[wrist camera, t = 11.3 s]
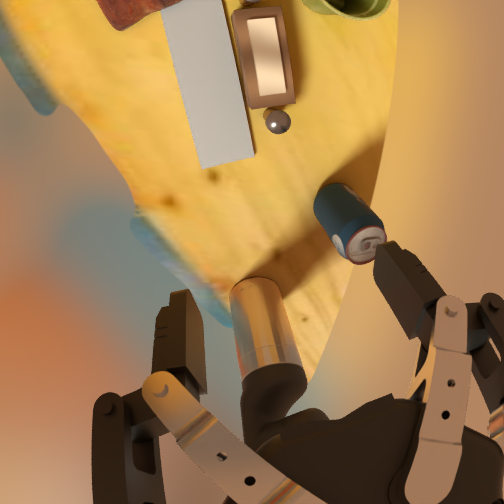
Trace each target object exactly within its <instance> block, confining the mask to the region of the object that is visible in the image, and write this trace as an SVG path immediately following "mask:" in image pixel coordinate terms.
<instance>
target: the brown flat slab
mask: <svg viewBox="0 0 504 504" xmlns="http://www.w3.org/2000/svg"><path fill="white" fill-rule="evenodd" d="M96 1H97V2H98V4H99V6H100V8H101V9H102V11H103V13H104V15H105V16H106V18H107V20H108V21H109V22H110V24H111V25H112V26H113V27H114V28H115V29H116V30H118V31H124V30H126V29H128V28H129V27H130V26H132V25H133V24H135V23H136V22H138V21H139V20H141V19H142V18H143V17H145V16H147V15H148V14H150V13H152V12H155V11H159V10H162V9H165V8H167V7H170V6H172V5H174V4H177V3H179V2H181V1H182V0H96Z"/></svg>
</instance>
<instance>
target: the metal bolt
mask: <svg viewBox="0 0 504 504" xmlns="http://www.w3.org/2000/svg"><path fill="white" fill-rule="evenodd" d="M239 1H240V3H241V4H242V5H244V6H250V5H252V4H253V3H256V2H259V1H261V0H239Z"/></svg>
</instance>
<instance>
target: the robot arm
mask: <svg viewBox="0 0 504 504" xmlns="http://www.w3.org/2000/svg"><path fill="white" fill-rule="evenodd" d="M373 276H374V280H375V282H376V284H377V286H378V288H379V289H380V291H381V293H382V294H383V296H384V297H385V299H386V301H387V302H388V304H389V305H390V307H391V309H392V311H393V312H394V314H395V316H396V318H397V319H398V321H399V323H400V324H401V326H402V328H403V330H404V331H405V333H406V335H407V337H408V339H409V340H410V339H413V338H415V337H418V338H419V339H420V342H419V345H418V351H417V357H416V362H415V367H414V371H413V376H412V380H411V383H410V386H409V388H408V391H407V393H406V396H405V399H394V397H393V395H392V393H391V394H388V395H386V396H383V397H381V398H378V399H375V400H373V401H370V402H368V403H366V404H364V405H362V406H361V407H359V408H358V409H356V410H355V411H353V412H351V413H350V414H348V415H347V416H345V417H343V418H341V419H338V420H329V418H328V417H327V416H326V414H325V413H324V412H322V411H321V410H319V409H316V408H309V409H306V410H303V411H300V412H298V413H295V414H292V415H290V416H287V417H285V416H286V414H287V412H288V411H289V409H290V408H291V407H292V405H293V404H294V403H295V402H296V401H297V400H298V399H299V398H300V397H301V396H302V395H303V394H304V392H305V391H306V389H307V378H306V375H305V372H304V369H303V365H302V362H301V359H300V355H299V352H298V349H297V346H296V343H295V339H294V336H293V333H292V329H291V326H290V323H289V320H288V316H287V313H286V310H285V307H284V303H283V300H282V297H281V294H280V290H279V288H278V286H277V284H276V283H275V282H273V281H272V280H270V279H267V278H262V277H254V278H249V279H246V280H243V281H242V282H240V283H238V284H237V285H236V286H235V287H234V288H233V289H232V291H231V292H230V296H229V300H230V307H231V315H232V322H233V330H234V336H235V343H236V350H237V357H238V363H239V369H240V375H241V382H242V389H243V392H242V396H241V402H240V407H241V416H242V425H243V426H242V427H243V437H244V443H243V442H242V441H241V440H240V439H239V438H237V437H236V436H235V435H234V434H233V433H232V432H230V431H229V430H228V429H227V428H226V427H225V426H224V425H223V424H222V423H221V422H220V421H218V420H217V419H216V418H215V417H214V416H213V415H212V414H211V413H210V412H208V411H207V410H206V409H205V408H204V407H203V406H202V405H201V404H200V397H199V395H203V394H207V382H206V367H205V349H204V330H203V321H202V316H201V314H200V311H199V309H198V307H197V305H196V303H195V301H194V298H193V297H192V294H191V292H190V290H189V289H185V290H180V291H175V292H171V294H170V302H169V306H166V307H162V308H161V310H160V312H159V313H158V316H157V317H156V324H155V334H154V338H155V339H154V346H153V359H152V360H153V361H152V371H151V375H150V376H149V377H148V378H147V379H146V380H145V381H144V383H143V386H142V388H140V389H138V390H137V391H134V392H132V393H129V394H127V395H125V396H122V397H120V396H119V395H118V394H116V393H112V392H108V393H105V394H103V395H101V396H100V397H99V398H98V399H97V400H96V402H95V404H94V408H93V421H92V422H93V423H92V490H93V504H166V499H165V492H164V485H163V477H162V468H161V459H160V448H159V436H161V435H164V434H166V433H169V432H171V433H172V435H173V436H174V437H175V438H176V440H177V441H176V442H177V444H178V445H179V446H180V448H181V449H182V450H183V451H184V452H185V453H186V454H187V455H188V457H189V458H190V459H191V460H192V461H193V462H194V463H195V464H196V465H197V466H198V467H199V468H200V469H201V470H202V471H203V472H204V473H205V474H206V475H207V476H208V477H209V478H210V479H211V480H212V481H213V482H214V483H215V484H216V485H217V486H219V487H220V488H221V489H222V490H223V491H224V492H225V493H226V494H227V495H228V496H227V497H226V499H225V500H224V502H223V504H504V500H503V494H502V493H503V492H502V487H503V475H504V300H503V299H502V298H501V297H500V296H499V295H497V294H495V293H486V294H484V295H483V297H482V299H481V301H480V302H479V303H466V304H464V303H463V301H461V300H460V299H459V298H457V297H455V296H451V295H446V293H445V292H444V291H443V290H442V288H441V287H440V285H439V284H438V283H437V281H436V280H435V279H434V278H433V276H432V275H431V274H430V272H429V271H427V269H426V268H425V266H424V265H422V263H421V261H420V260H419V259H418V258H417V257H416V255H414V254H413V253H411V252H409V251H408V250H406V249H404V250H402V249H401V248H400V246H399V245H398V244H397V243H396V242H395V241H389V242H385V243H381V244H378V245H377V247H376V253H375V261H374V269H373ZM490 338H491V339H492V341H493V342H494V344H495V346H496V348H497V350H498V351H499V353H500V356H501V362H500V360H499V358H498V357H497V354H496V353H495V351H494V349H493V347H492V345H491V344H490V342H489V339H490ZM471 371H472V373H473V375H474V377H475V379H476V381H477V384H478V386H479V388H480V390H481V392H482V395H483V397H484V400H485V402H486V404H487V407H488V409H489V412H490V414H491V416H490V419H489V424H488V426H487V432H488V433H489V434H490V438H489V437H487V436H485V435H483V434H481V433H479V432H477V431H475V430H473V429H471V428H469V427H467V426H465V425H464V422H465V417H466V411H467V404H468V397H469V389H470V380H471Z"/></svg>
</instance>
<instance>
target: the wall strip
mask: <svg viewBox="0 0 504 504" xmlns="http://www.w3.org/2000/svg"><path fill="white" fill-rule="evenodd" d="M160 11H161V15H162V20H163V24H164V28H165V32H166V36H167V40H168V44H169V48H170V52H171V56H172V60H173V64H174V68H175V72H176V76H177V80H178V84H179V88H180V91H181V95H182V99H183V103H184V107H185V110H186V114H187V118H188V121H189V125H190V129H191V132H192V136H193V140H194V143H195V147H196V150H197V154H198V158H199V161H200V165H201V168H202V169H205V168H209V167H213V166H217V165H221V164H225V163H229V162H234V161H238V160H242V159H247V158H251V157H255V156H254V151H253V146H252V141H251V136H250V131H249V126H248V121H247V116H246V111H245V106H244V101H243V96H242V91H241V87H240V82H239V77H238V73H237V68H236V63H235V59H234V54H233V49H232V45H231V40H230V36H229V31H228V27H227V23H226V18H225V14H224V9H223V5H222V1H221V0H182V1H181V2H179V3H177V4H174V5H172V6H170V7H167V8H165V9H162V10H160Z"/></svg>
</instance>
